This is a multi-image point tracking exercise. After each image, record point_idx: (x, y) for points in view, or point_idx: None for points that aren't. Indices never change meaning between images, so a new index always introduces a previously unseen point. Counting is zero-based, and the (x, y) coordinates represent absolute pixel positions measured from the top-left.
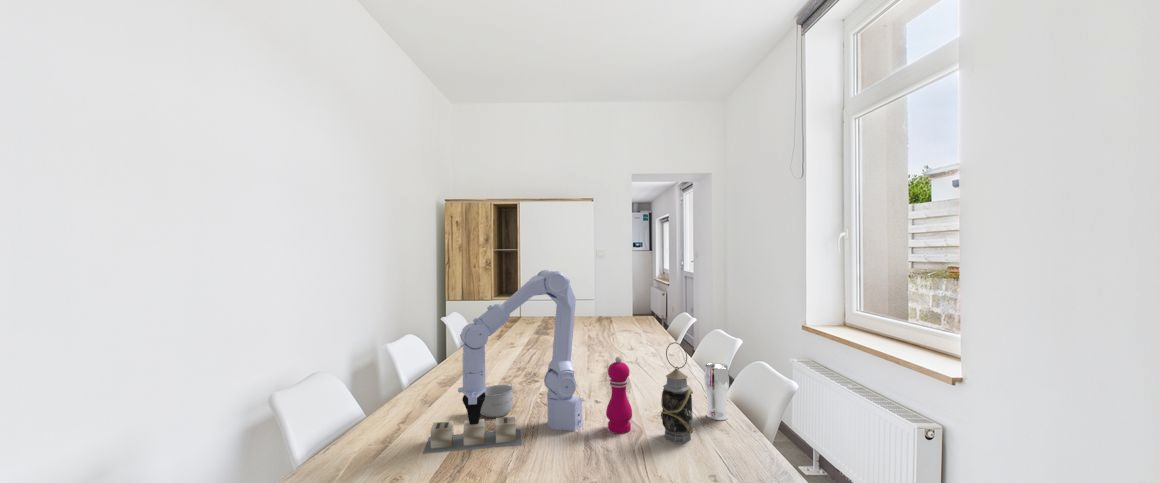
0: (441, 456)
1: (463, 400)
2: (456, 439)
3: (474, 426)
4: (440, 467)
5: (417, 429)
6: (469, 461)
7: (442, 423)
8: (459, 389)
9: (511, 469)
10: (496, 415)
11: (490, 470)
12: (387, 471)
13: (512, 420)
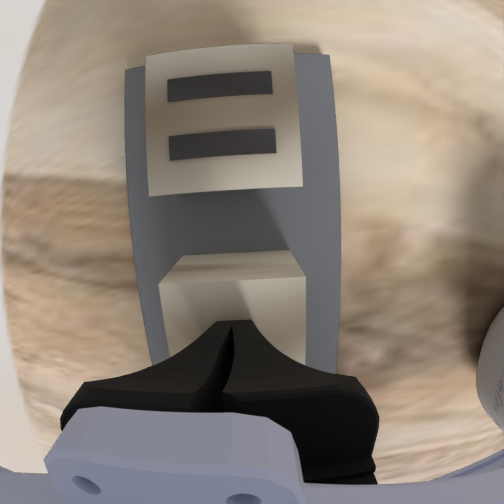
0: (119, 158)
1: (69, 403)
2: (271, 204)
3: (175, 352)
4: (33, 183)
5: (440, 18)
6: (69, 290)
7: (265, 107)
8: (103, 481)
9: (42, 410)
10: (478, 364)
11: (26, 358)
12: (51, 8)
13: None
